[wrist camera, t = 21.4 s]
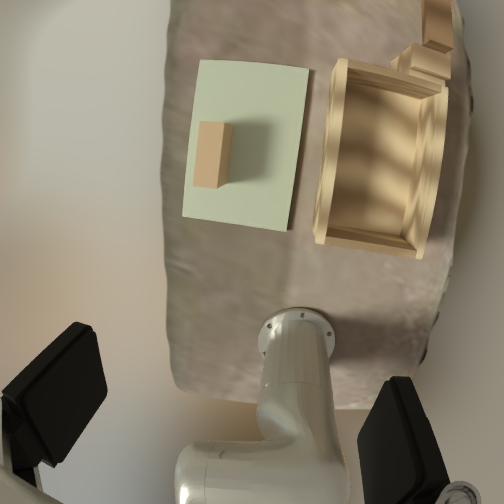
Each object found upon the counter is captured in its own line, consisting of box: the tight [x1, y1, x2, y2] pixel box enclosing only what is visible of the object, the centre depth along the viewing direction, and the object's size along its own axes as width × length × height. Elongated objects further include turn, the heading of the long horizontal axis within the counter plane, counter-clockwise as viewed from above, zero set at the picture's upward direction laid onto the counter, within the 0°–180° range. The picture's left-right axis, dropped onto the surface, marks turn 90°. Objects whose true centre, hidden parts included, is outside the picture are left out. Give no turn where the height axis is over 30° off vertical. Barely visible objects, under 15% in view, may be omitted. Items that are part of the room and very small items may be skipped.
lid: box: [182, 60, 309, 232], centre depth 38 cm, size 23×15×8 cm, turn 173°
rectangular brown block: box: [421, 0, 454, 54], centre depth 23 cm, size 8×3×2 cm, turn 174°
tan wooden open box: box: [312, 43, 451, 260], centre depth 34 cm, size 26×14×10 cm, turn 174°
